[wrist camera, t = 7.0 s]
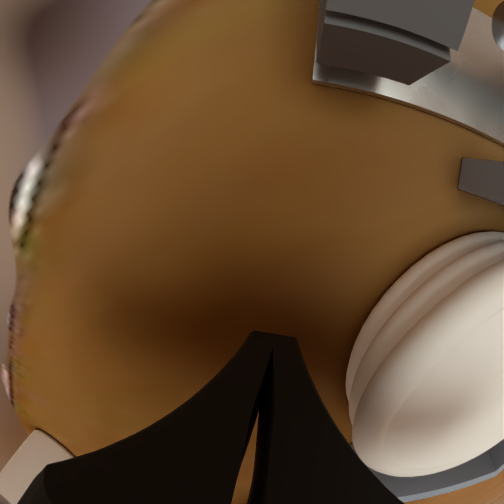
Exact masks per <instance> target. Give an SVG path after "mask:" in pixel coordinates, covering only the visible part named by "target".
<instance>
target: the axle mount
mask: <svg viewBox="0 0 504 504" xmlns="http://www.w3.org/2000/svg"><path fill="white" fill-rule="evenodd" d="M319 3H320V0H319ZM318 17H319V11H318ZM317 29H318V23H317ZM317 31H318V30H317ZM316 53H317V35H316V46H315V57H314V67H313V77H312V84H317V85H323V86H329V87H334V88H339V89H344V90H349V91H353V92H358V93H362V94H366V95H370V96H374V97H378V98H382V99H385V100H389V101H392V102H396V103H399V104H402V105H406V106H409V107H412V108H415V109H418V110H421V111H424V112H426V113H429V114H432V115H435V116H437V117H440V118H443V119H445V120H448V121H450V122H453V123H455V124H457V125H460V126H462V127H464V128H467V129H469V130H471V131H473V132H475V133H478V134H480V135H482V136H484V137H486V138H488V139H490V140H492V141H494V142H496V143H498V144H500V145H502V146H503V147H504V1H503V2H502V3H500V4H499V5H498V6H497V8H496V10H495V12H494V14H493V18H490V17H488V16H487V15H485V14H484V13H482V12H480V11H479V10H477V9H475V8H473V7H472V10H471V14H470V17H469V20H468V23H467V26H466V29H465V32H464V35H463V38H462V41H461V44H460V47H459V49H458V51H456V50H453V49H451V48H450V56H451V62H449V63H447V64H445V65H444V66H442V67H440V68H438V69H437V70H435V71H433V72H431V73H430V74H428V75H426V76H424V77H423V78H421V79H419V80H418V81H416V82H414V83H413V84H411V85H406V84H403V83H400V82H397V81H393V80H390V79H386V78H383V77H379V76H376V75H372V74H368V73H364V72H360V71H355V70H351V69H346V68H342V67H336V66H331V65H326V64H320V63H316Z"/></svg>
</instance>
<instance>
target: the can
mask: <svg viewBox="0 0 504 504" xmlns="http://www.w3.org/2000/svg"><path fill="white" fill-rule="evenodd" d="M74 457H75V456H74V455H73V454H72V453H71V452H70V451H69V450H68V449H66V448H65V447H64V446H63V445H62V444H61V443H59V442H58V441H57V440H55V439H54V438H53V437H51V436H50V435H49V434H47V433H45V432H44V431H42V430H34V431H33V432H32V433H31V434H30V435H29V436H28V438H27V439H26V440H25V441H24V443H23V444H22V445H21V446H20V447H19V449H18V450H17V451H16V453H15V454H14V455H13V456H12V458H11V459H10V460H9V462H8V463H7V464H6V466H5V467H4V468H3V469H2V471H1V472H0V494H1V495H2V496H3V497H4V498H5V499H6V500H8V501H9V502H10V503H11V504H17V503H18V501H19V500H20V498H21V497H22V495H23V494H24V492H25V491H26V490H27V488H28V487H29V485H30V484H31V482H32V481H33V479H34V478H35V477H36V476H37V475H38V474H39V473H40V472H41V471H42V470H43V469H44V467H45V466H46V465H47V464H51V463H55V462H59V461H63V460H67V459H70V458H74Z"/></svg>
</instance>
